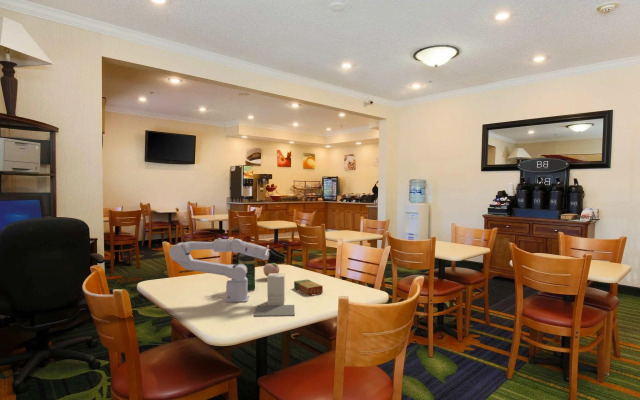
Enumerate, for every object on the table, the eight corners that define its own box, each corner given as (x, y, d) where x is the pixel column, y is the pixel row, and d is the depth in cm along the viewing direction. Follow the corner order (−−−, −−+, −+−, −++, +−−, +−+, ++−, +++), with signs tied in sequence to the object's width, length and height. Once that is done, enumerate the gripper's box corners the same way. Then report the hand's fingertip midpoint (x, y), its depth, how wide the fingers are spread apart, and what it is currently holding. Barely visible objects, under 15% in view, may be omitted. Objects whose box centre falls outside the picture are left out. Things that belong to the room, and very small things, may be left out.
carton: (307, 296, 173) (307, 287, 173) (293, 288, 187) (293, 280, 187) (322, 294, 177) (322, 285, 177) (307, 286, 191) (307, 278, 191)
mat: (254, 316, 143) (254, 315, 143) (257, 306, 156) (257, 305, 156) (294, 315, 144) (294, 314, 144) (294, 305, 157) (294, 304, 157)
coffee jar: (257, 290, 181) (257, 253, 181) (241, 292, 177) (241, 254, 177) (251, 286, 190) (251, 251, 189) (236, 288, 186) (236, 252, 186)
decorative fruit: (260, 279, 205) (260, 261, 205) (267, 276, 213) (267, 259, 213) (274, 281, 202) (274, 263, 202) (281, 277, 209) (281, 260, 209)
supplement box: (285, 300, 165) (285, 272, 165) (284, 305, 157) (284, 276, 157) (268, 300, 164) (269, 272, 164) (267, 305, 157) (267, 276, 157)
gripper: (257, 245, 159) (286, 253, 160) (259, 240, 173) (286, 247, 175) (252, 260, 159) (282, 268, 160) (255, 254, 173) (282, 261, 175)
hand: (284, 258), depth 168 cm, fingers open, 7 cm apart
